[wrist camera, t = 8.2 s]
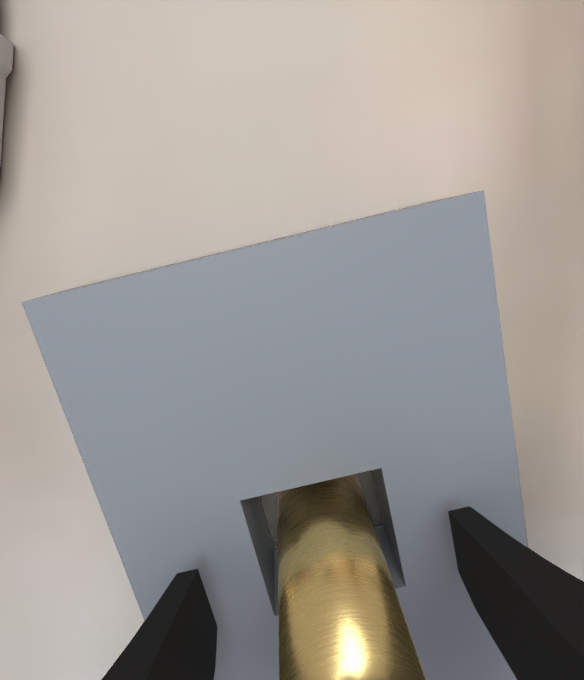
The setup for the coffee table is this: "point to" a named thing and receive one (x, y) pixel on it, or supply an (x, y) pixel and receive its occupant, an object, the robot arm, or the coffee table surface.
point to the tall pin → (337, 590)
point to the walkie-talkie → (4, 76)
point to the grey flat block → (298, 415)
